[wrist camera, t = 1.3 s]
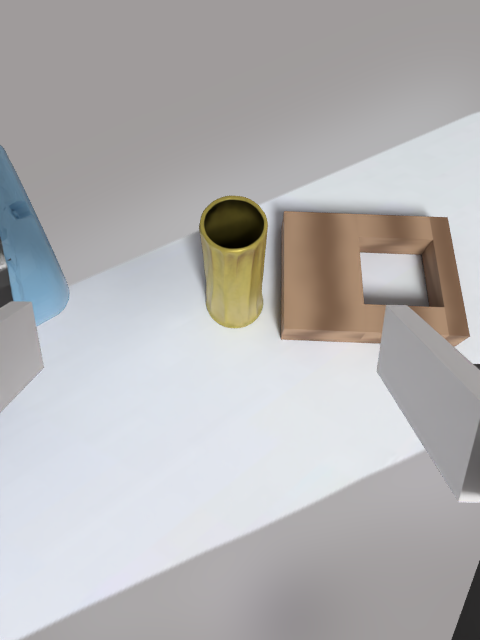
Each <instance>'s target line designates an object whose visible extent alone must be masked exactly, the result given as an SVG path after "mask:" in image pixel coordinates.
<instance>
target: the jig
mask: <svg viewBox="0 0 480 640" xmlns="http://www.w3.org/2000/svg"><path fill="white" fill-rule="evenodd" d="M360 252H365V253H391V254H416V255H422V260H423V267H424V274H425V280H426V287H427V294H428V300H429V307H423V306H408V307H410V308H411V309H412V310H413V311H414V312H415V313H416V314H417V315H419V316H420V317H421V318H422V319H423V320H424V321H425V322H426V323H428V324H429V325H430V326H431V327H432V328H433V329H434V330H435V331H437V332H438V333H439V334H440V335H441V336H442V337H443V338H444V339H445V340H447V341H448V342H449V343H450V344H451V345H452V346H454V347H455V346H456V345H458V344H459V343H461V342H462V341H464V340H465V339H467V338H468V337H470V334H469V329H468V324H467V318H466V313H465V308H464V302H463V297H462V292H461V286H460V281H459V276H458V270H457V265H456V260H455V255H454V249H453V244H452V239H451V233H450V228H449V223H448V217H422V216H396V215H369V214H343V213H316V212H290V211H284V215H283V221H282V227H281V339H285V340H309V341H333V342H357V343H381V337H382V330H383V323H384V316H385V309H386V305H373V304H364V297H363V285H362V273H361V261H360Z"/></svg>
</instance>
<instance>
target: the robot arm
mask: <svg viewBox="0 0 480 640" xmlns="http://www.w3.org/2000/svg"><path fill="white" fill-rule="evenodd" d="M68 300H69V287H68V284H67V282H66V279H65V277H64V275H63V272H62V270H61V268H60V265H59V263H58V261H57V259H56V256H55V254H54V252H53V250H52V248H51V245H50V243H49V241H48V239H47V237H46V235H45V232H44V230H43V228H42V226H41V224H40V222H39V220H38V217H37V215H36V213H35V211H34V209H33V207H32V205H31V202H30V200H29V198H28V196H27V194H26V192H25V190H24V188H23V186H22V184H21V182H20V180H19V177H18V175H17V173H16V171H15V169H14V167H13V166H12V163H11V162H10V160H9V158H8V156H7V154H6V151H5V150H4V148H3V147H2V146H1V145H0V412H1V411H2V410H3V409H4V408H5V407H6V406H7V405H8V404H9V403H10V402H11V401H12V400H13V399H14V398H15V397H16V396H17V395H18V394H19V393H20V392H21V391H22V390H23V389H24V388H25V387H26V386H27V385H28V384H29V383H30V382H31V381H32V380H33V378H34V377H35V376H36V375H37V374H38V373H39V372H40V371H41V370H42V369H43V368H44V365H43V360H42V354H41V349H40V344H39V338H38V333H37V328H36V327H37V326H38V325H40V324H42V323H44V322H46V321H47V320H49V319H51V318H53V317H55V316H56V315H58V314H59V313H60V312H61V311H63V309H64V308H65V307H66V304H67V302H68ZM377 373H378V374H379V376H380V377H381V379H382V381H383V382H384V384H385V385H386V387H387V389H388V390H389V392H390V393H391V395H392V397H393V398H394V400H395V401H396V403H397V405H398V406H399V408H400V409H401V411H402V413H403V414H404V416H405V417H406V419H407V421H408V422H409V424H410V425H411V427H412V429H413V430H414V432H415V433H416V435H417V437H418V438H419V440H420V441H421V443H422V445H423V446H424V448H425V449H426V451H427V453H428V454H429V456H430V457H431V459H432V461H433V462H434V464H435V465H436V467H437V469H438V470H439V472H440V473H441V475H442V477H443V478H444V480H445V481H446V483H447V485H448V486H449V488H450V489H451V491H452V493H453V494H454V496H455V497H456V499H457V501H458V502H480V364H472V363H471V362H470V361H469V360H468V359H467V358H466V357H465V356H463V355H462V354H461V353H460V352H459V351H458V350H457V349H456V348H454V347H453V346H452V345H451V344H450V343H449V342H448V341H447V340H445V339H444V338H443V337H442V336H441V335H440V334H439V333H438V332H437V331H435V330H434V329H433V328H432V327H431V326H430V325H429V324H428V323H426V322H425V321H424V320H423V319H422V318H421V317H420V316H419V315H417V314H416V313H415V312H414V311H413V310H412V309H411V308H410V307H408V306H407V305H386V309H385V316H384V323H383V330H382V337H381V344H380V351H379V358H378V365H377ZM452 640H480V561H479V564H478V567H477V570H476V572H475V576H474V578H473V581H472V584H471V587H470V590H469V592H468V595H467V598H466V600H465V603H464V606H463V609H462V612H461V614H460V618H459V620H458V623H457V626H456V629H455V631H454V634H453V637H452Z"/></svg>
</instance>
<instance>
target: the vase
mask: <svg viewBox="0 0 480 640" xmlns="http://www.w3.org/2000/svg"><path fill="white" fill-rule="evenodd" d="M267 228H268V223H267V218H266V215H265V213H264V212H263V210H262V209H261V208H260V207H259V205H258V204H256V203H255V202H254V201H252V200H250V199H248V198H246V197H240V196H225V197H222V198H219V199H217V200H215V201H213V202H212V203H211V204H210V205H209V206H208V207H207V208H206V209H205V210H204V211H203V213H202V216H201V220H200V225H199V231H200V236H201V243H202V250H203V258H204V269H205V276H206V286H207V288H206V295H207V300H206V306H207V309H208V312H209V314H210V316H211V317H212V318H213V319H214V320H215V321H216V322H217V323H219V324H220V325H222V326H224V327H228V328H241V327H245V326H247V325H249V324H251V323H253V322H254V321H255V320H256V319H257V318H258V316H259V315H260V313H261V311H262V308H263V297H262V281H263V271H264V259H265V250H266V239H267Z"/></svg>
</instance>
